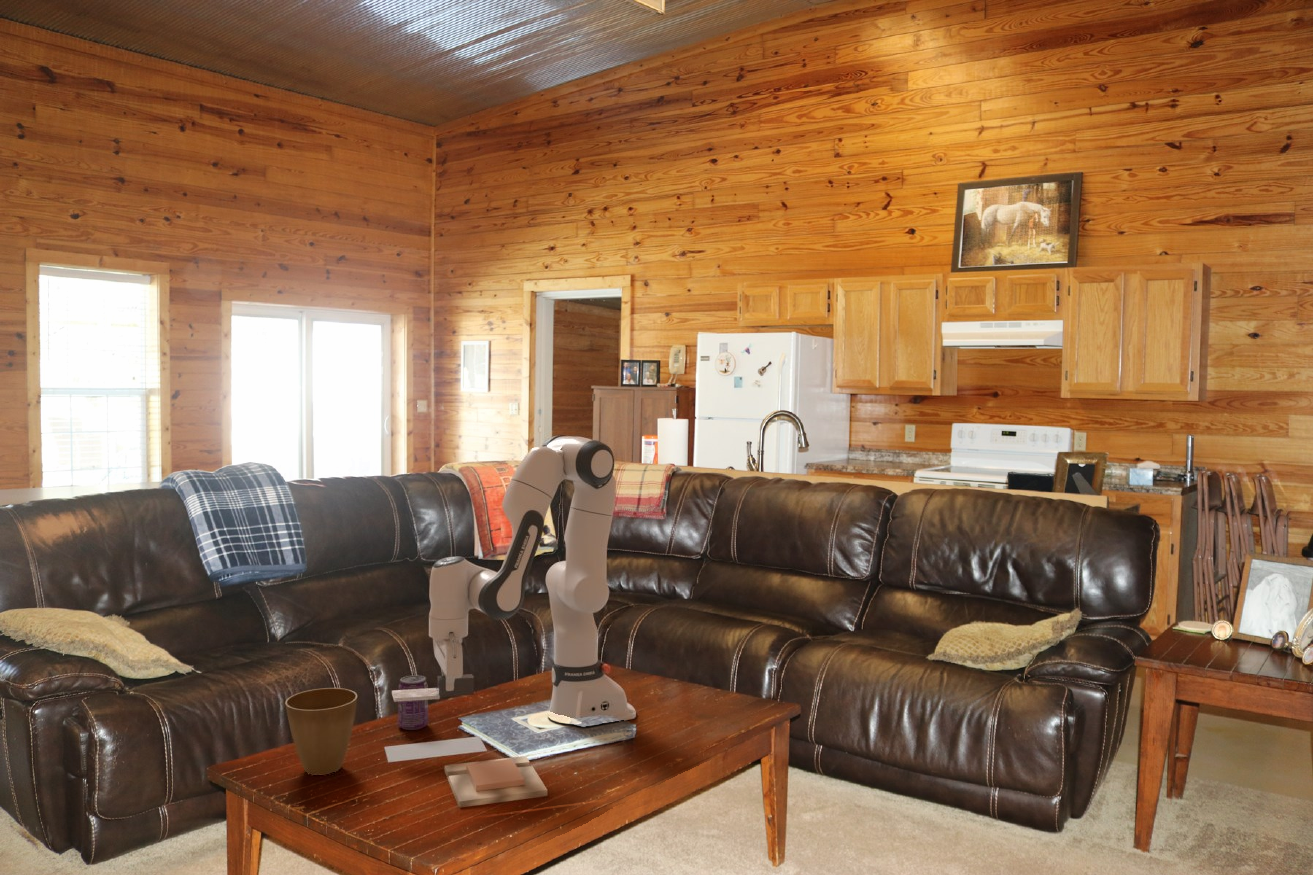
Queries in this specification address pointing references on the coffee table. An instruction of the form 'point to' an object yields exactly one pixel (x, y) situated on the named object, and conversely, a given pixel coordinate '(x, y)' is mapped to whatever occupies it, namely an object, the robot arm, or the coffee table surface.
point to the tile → (494, 774)
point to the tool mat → (434, 749)
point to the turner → (437, 690)
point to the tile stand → (471, 797)
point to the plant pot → (322, 727)
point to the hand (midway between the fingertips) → (447, 687)
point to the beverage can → (412, 705)
